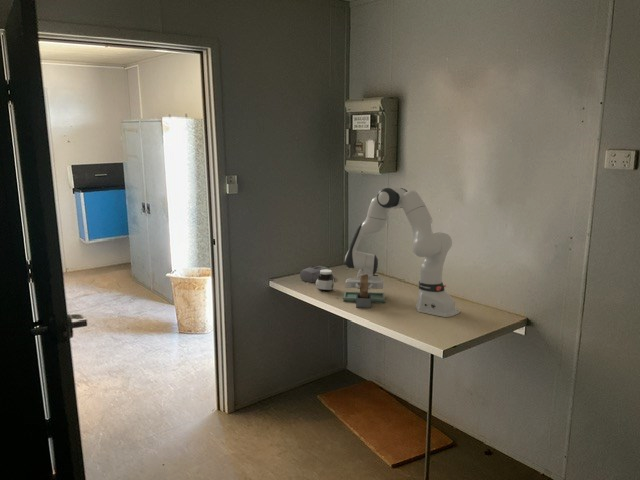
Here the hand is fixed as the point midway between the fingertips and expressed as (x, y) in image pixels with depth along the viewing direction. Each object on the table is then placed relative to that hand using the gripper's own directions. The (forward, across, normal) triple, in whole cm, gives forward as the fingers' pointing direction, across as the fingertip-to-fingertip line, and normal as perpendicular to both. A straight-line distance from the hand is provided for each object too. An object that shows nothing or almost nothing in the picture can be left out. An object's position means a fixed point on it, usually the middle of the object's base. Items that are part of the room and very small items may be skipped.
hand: (363, 287), depth 264 cm
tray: (-13, 0, +10) cm, 16 cm away
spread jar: (-29, -24, +10) cm, 39 cm away
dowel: (-1, 0, +9) cm, 9 cm away
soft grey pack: (-51, -30, +10) cm, 61 cm away
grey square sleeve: (-1, 0, +10) cm, 10 cm away
